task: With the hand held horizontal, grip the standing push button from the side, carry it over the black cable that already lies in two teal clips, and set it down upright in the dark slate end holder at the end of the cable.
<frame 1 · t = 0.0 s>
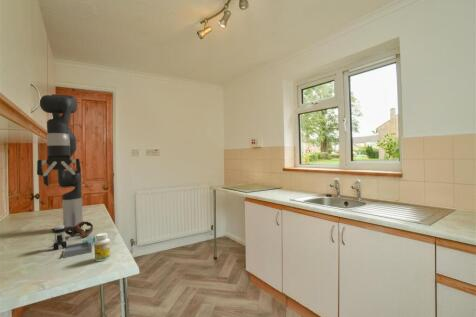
hand: (60, 184, 98), 29 cm above the table, tool pointing down, fingers open, 8 cm apart
holder: (78, 251, 103), on the table
push button: (58, 249, 107), on the table
supplement bottle: (102, 259, 95), on the table
clip 1: (91, 242, 114), resting in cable
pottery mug: (79, 236, 123), on the table
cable: (87, 244, 111), on the table
clip 2: (88, 244, 110), on the table
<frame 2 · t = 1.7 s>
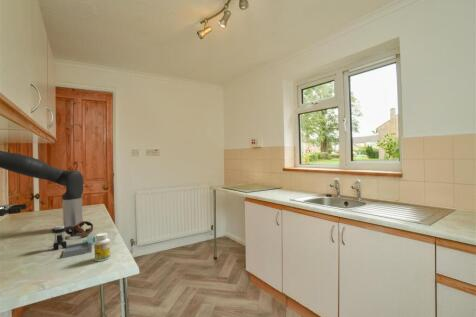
hand: (23, 208, 101), 20 cm above the table, tool horizontal, fingers open, 8 cm apart
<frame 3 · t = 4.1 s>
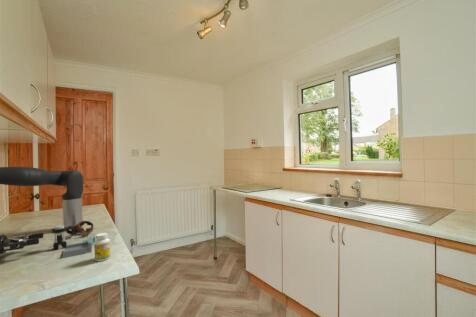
hand: (41, 238, 104), 6 cm above the table, tool horizontal, fingers open, 8 cm apart
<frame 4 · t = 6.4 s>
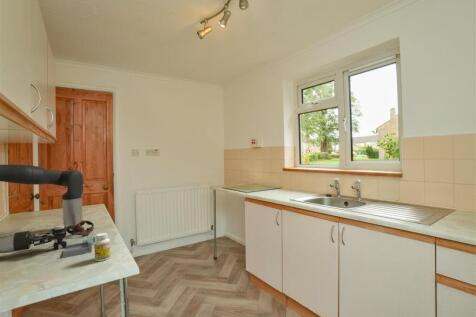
hand: (65, 234, 108), 6 cm above the table, tool horizontal, fingers closed on push button, 3 cm apart
push button: (58, 249, 107), on the table, touching gripper
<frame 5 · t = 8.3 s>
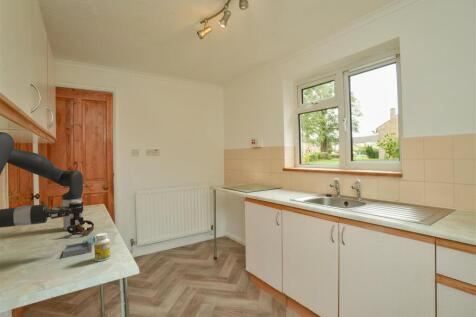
hand: (82, 209, 104), 18 cm above the table, tool horizontal, fingers closed on push button, 3 cm apart
push button: (75, 224, 103), point 12 cm above the table, touching gripper
when the fingers open (8 cm above the table, at t = 10.5 s): push button moves 2 cm, resting on holder.
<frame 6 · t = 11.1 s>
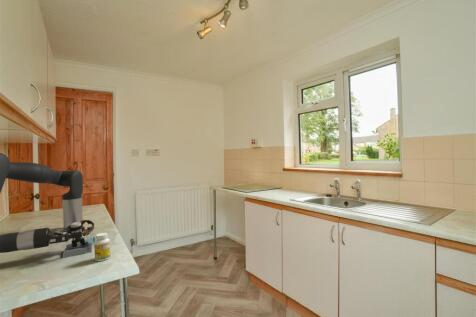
hand: (82, 231, 104), 8 cm above the table, tool horizontal, fingers open, 8 cm apart
push button: (77, 246, 105), point 2 cm above the table, touching gripper, holder
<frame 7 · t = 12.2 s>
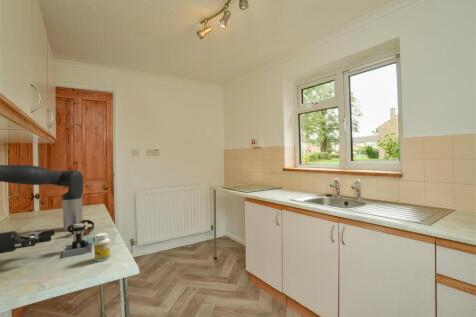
hand: (52, 235, 99), 9 cm above the table, tool horizontal, fingers open, 8 cm apart
push button: (76, 247, 105), point 1 cm above the table, touching holder
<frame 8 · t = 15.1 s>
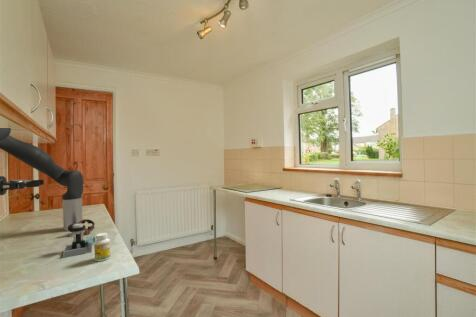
hand: (41, 182, 101), 30 cm above the table, tool horizontal, fingers open, 8 cm apart
at the end: push button 2.2 cm off-centre on the holder, point 0.8 cm above the holder's base; push button tilted 0°; the gripper is holding nothing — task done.
